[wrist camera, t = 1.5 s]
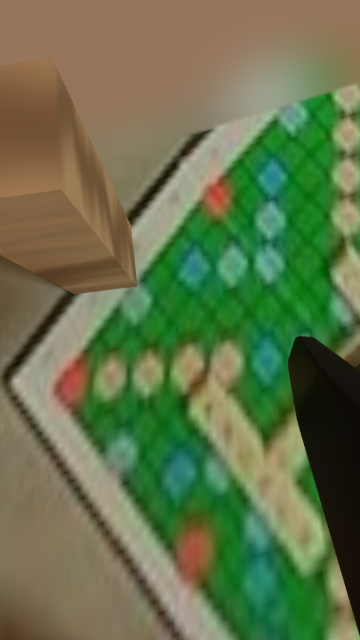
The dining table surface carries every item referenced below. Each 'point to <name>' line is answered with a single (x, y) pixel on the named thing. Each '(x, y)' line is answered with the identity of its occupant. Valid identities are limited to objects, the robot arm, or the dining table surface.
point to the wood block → (57, 188)
